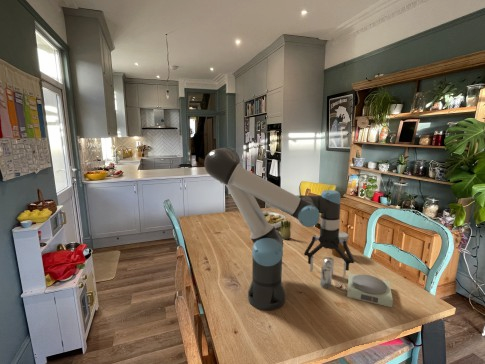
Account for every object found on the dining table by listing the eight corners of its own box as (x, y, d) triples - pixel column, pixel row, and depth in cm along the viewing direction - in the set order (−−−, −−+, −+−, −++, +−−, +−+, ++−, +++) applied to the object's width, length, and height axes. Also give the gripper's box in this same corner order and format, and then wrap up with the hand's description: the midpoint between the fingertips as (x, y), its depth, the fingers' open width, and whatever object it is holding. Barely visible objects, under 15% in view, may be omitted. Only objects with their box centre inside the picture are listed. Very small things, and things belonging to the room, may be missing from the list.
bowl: (263, 214, 211) (263, 205, 210) (293, 224, 190) (294, 213, 188) (236, 223, 191) (236, 213, 190) (266, 234, 170) (266, 223, 168)
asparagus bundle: (279, 238, 164) (280, 220, 162) (284, 236, 167) (284, 218, 165) (287, 240, 160) (287, 222, 158) (291, 238, 163) (292, 220, 161)
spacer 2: (330, 289, 111) (331, 272, 109) (319, 286, 112) (320, 269, 111) (331, 283, 114) (332, 267, 113) (321, 281, 116) (322, 265, 115)
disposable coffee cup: (350, 254, 142) (351, 233, 140) (343, 260, 135) (344, 239, 133) (333, 249, 148) (334, 229, 146) (325, 254, 142) (327, 234, 139)
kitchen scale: (392, 308, 99) (393, 298, 98) (347, 297, 105) (347, 288, 104) (388, 287, 112) (389, 279, 111) (348, 279, 118) (349, 271, 117)
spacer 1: (332, 278, 119) (333, 262, 117) (322, 276, 120) (323, 260, 119) (333, 273, 123) (334, 258, 121) (323, 271, 124) (324, 256, 123)
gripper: (362, 228, 107) (358, 274, 111) (301, 220, 117) (300, 264, 121) (362, 234, 100) (359, 284, 104) (298, 226, 110) (297, 272, 114)
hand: (327, 273), depth 112 cm, fingers open, 13 cm apart
